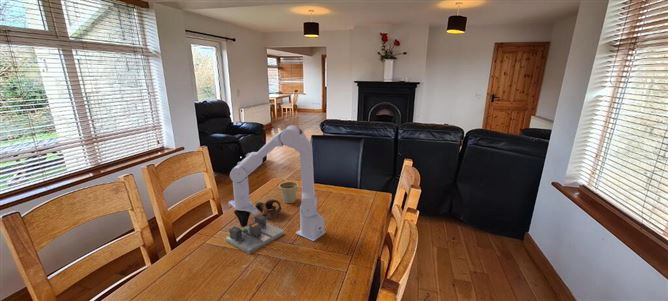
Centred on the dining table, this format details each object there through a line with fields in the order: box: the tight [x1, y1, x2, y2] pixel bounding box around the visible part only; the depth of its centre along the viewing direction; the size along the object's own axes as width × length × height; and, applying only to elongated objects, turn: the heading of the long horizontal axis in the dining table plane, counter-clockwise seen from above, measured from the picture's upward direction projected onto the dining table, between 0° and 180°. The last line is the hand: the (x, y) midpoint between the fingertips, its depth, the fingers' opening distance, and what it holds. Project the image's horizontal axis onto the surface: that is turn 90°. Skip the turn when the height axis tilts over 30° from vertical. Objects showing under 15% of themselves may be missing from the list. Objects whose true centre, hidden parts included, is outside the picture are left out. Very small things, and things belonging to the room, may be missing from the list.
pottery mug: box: [254, 198, 283, 220], centre depth 130 cm, size 12×10×8 cm
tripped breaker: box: [248, 222, 261, 236], centre depth 111 cm, size 4×2×4 cm, turn 54°
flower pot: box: [278, 181, 299, 204], centre depth 144 cm, size 9×9×9 cm
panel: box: [225, 214, 285, 255], centre depth 112 cm, size 14×17×5 cm
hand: (244, 225), depth 115 cm, fingers closed
